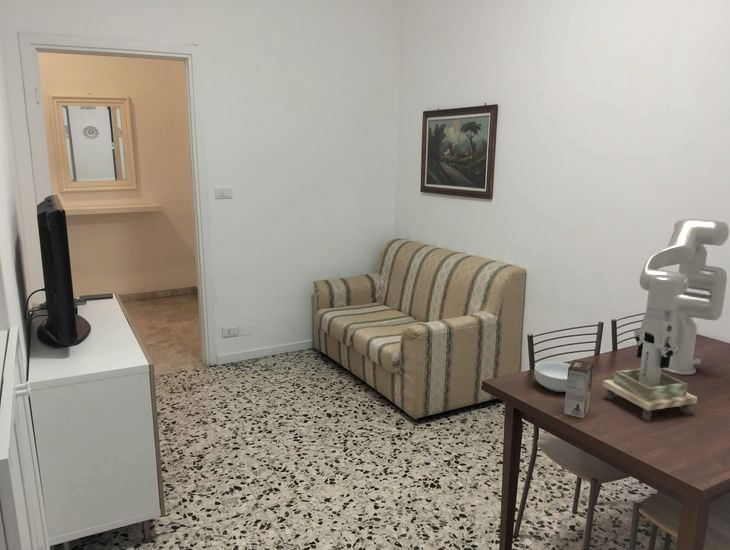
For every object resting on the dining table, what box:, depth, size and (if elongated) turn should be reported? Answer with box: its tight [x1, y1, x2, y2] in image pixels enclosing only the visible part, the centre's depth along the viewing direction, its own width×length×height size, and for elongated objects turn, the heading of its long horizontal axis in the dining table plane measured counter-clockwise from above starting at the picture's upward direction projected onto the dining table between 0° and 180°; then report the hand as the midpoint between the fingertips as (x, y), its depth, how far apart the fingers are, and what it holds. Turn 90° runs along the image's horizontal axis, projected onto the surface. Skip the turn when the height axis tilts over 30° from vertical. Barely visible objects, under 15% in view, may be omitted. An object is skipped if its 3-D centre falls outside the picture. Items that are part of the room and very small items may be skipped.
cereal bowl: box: [533, 360, 571, 393], centre depth 200 cm, size 17×17×7 cm
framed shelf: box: [602, 367, 698, 422], centre depth 187 cm, size 20×20×10 cm
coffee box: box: [563, 359, 595, 419], centre depth 181 cm, size 9×6×16 cm
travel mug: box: [639, 332, 663, 387], centre depth 185 cm, size 6×7×20 cm
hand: (652, 362), depth 185 cm, fingers open, 9 cm apart
